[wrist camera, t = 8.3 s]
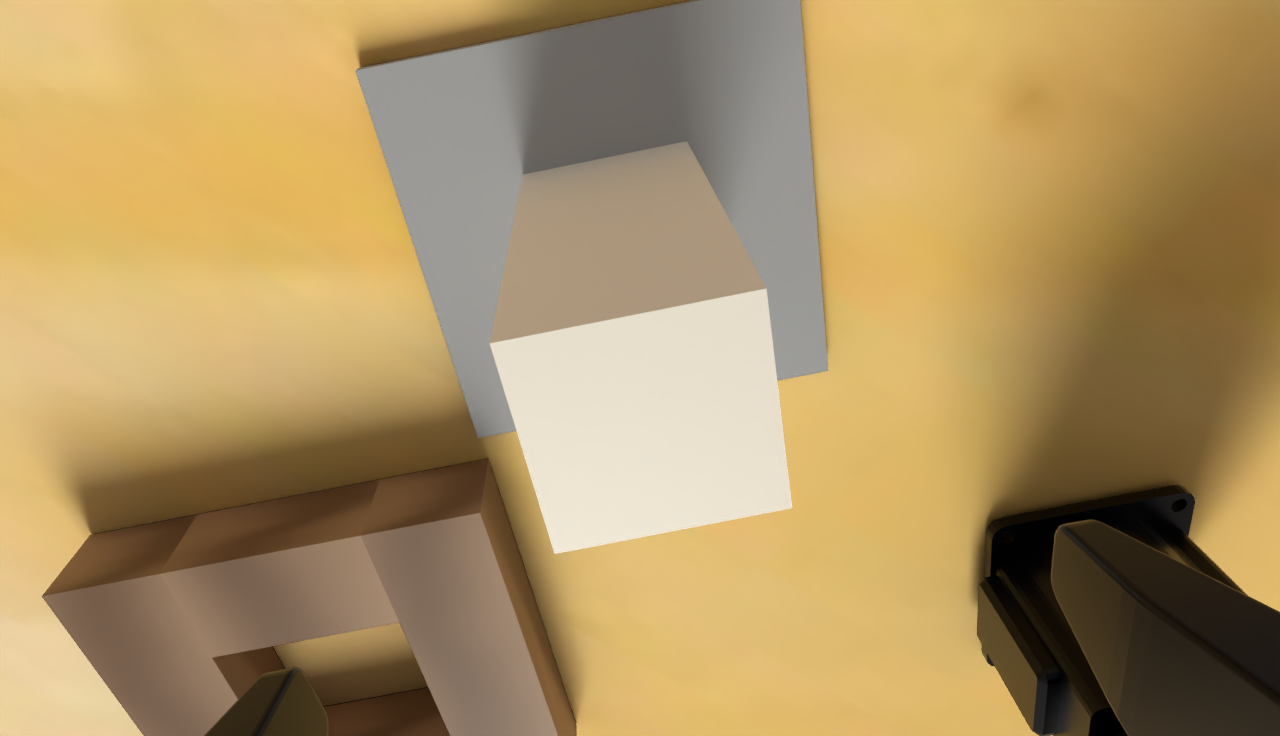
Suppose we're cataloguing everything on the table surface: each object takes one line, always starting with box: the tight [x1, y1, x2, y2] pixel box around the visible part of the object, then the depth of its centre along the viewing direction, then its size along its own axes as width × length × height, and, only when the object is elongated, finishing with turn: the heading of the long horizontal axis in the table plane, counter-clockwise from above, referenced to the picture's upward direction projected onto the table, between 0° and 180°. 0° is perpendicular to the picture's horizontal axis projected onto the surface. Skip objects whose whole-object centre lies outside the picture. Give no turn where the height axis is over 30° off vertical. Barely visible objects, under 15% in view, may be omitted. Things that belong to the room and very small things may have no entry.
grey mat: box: [356, 0, 828, 438], centre depth 21 cm, size 10×10×1 cm
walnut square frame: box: [42, 459, 576, 736], centre depth 26 cm, size 12×12×2 cm
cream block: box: [490, 141, 792, 554], centre depth 16 cm, size 4×4×9 cm
